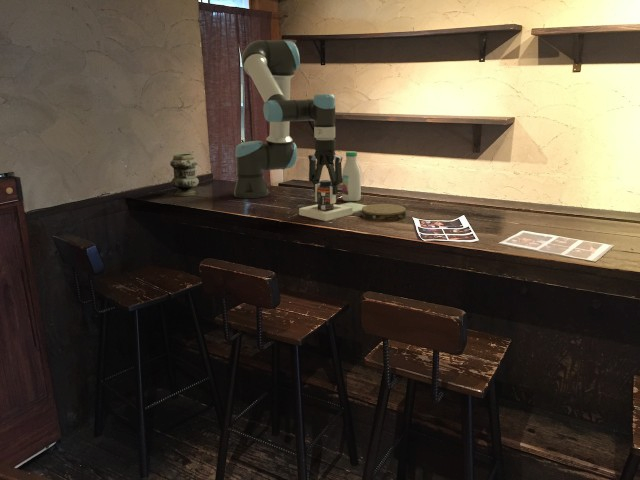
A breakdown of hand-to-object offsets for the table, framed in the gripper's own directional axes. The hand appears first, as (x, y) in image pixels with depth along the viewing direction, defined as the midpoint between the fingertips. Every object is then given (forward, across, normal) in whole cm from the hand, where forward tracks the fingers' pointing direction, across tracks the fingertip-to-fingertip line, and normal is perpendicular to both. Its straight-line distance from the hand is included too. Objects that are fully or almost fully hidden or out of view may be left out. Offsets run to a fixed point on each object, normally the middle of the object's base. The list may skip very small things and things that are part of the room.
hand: (325, 202), depth 196 cm
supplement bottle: (+4, 0, 0) cm, 4 cm away
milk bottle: (+5, -6, +27) cm, 29 cm away
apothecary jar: (+5, -77, -1) cm, 77 cm away
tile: (+5, +3, +14) cm, 15 cm away
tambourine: (+5, +19, +10) cm, 22 cm away
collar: (+5, 0, 0) cm, 5 cm away
